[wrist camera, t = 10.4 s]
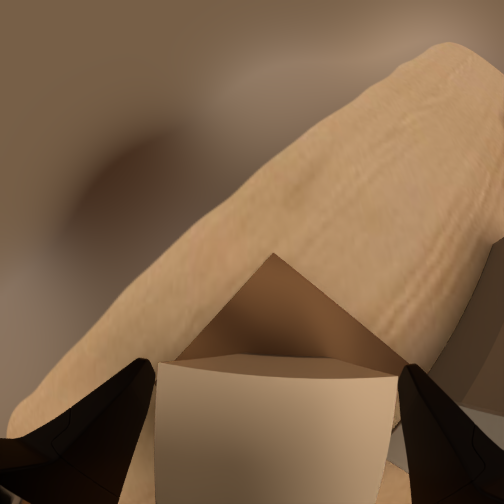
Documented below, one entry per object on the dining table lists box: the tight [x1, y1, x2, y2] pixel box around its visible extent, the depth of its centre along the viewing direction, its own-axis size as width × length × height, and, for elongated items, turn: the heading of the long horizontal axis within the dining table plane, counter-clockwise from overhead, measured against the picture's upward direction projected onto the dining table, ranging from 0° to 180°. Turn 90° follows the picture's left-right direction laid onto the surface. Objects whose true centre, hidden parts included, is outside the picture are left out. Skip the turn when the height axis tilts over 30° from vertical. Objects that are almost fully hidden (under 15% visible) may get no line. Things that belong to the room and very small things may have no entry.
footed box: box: [154, 353, 398, 504], centre depth 10 cm, size 6×5×12 cm
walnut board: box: [154, 253, 409, 386], centre depth 16 cm, size 12×12×1 cm
